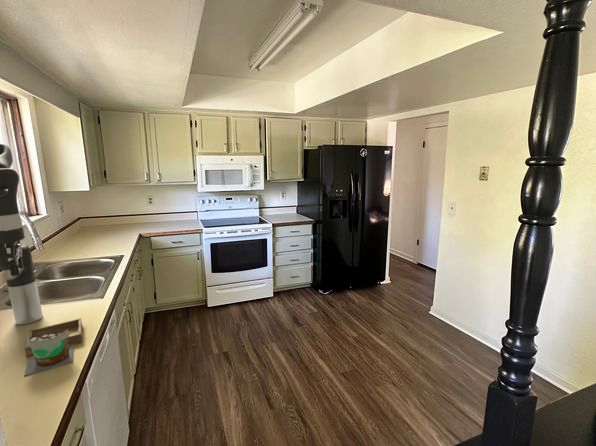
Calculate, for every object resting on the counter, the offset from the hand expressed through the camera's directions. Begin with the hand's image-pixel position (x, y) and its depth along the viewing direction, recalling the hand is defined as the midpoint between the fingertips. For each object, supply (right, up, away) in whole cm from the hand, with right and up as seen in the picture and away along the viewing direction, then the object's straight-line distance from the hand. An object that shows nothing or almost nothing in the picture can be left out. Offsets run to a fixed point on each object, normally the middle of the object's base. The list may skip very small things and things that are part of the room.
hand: (17, 271), depth 113 cm
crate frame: (+6, -28, +11) cm, 31 cm away
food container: (+14, -31, -3) cm, 34 cm away
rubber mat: (+13, -31, -2) cm, 34 cm away
